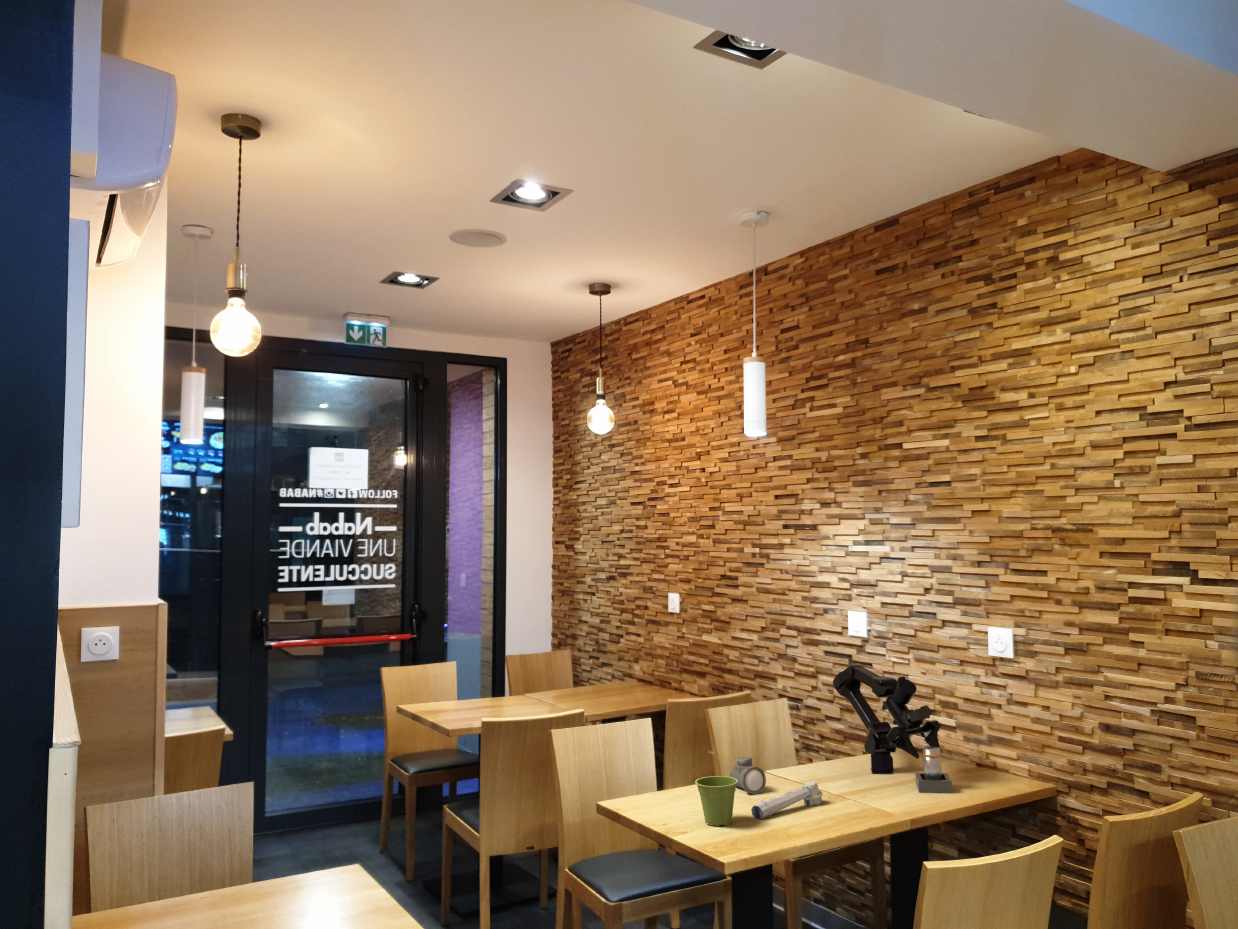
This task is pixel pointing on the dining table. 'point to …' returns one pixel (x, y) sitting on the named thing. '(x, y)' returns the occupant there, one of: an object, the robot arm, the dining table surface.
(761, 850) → the dining table surface
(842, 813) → the dining table surface
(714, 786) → the plant pot
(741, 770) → the pipe fitting
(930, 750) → the tube
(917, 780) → the collar
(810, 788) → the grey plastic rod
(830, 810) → the dining table surface
